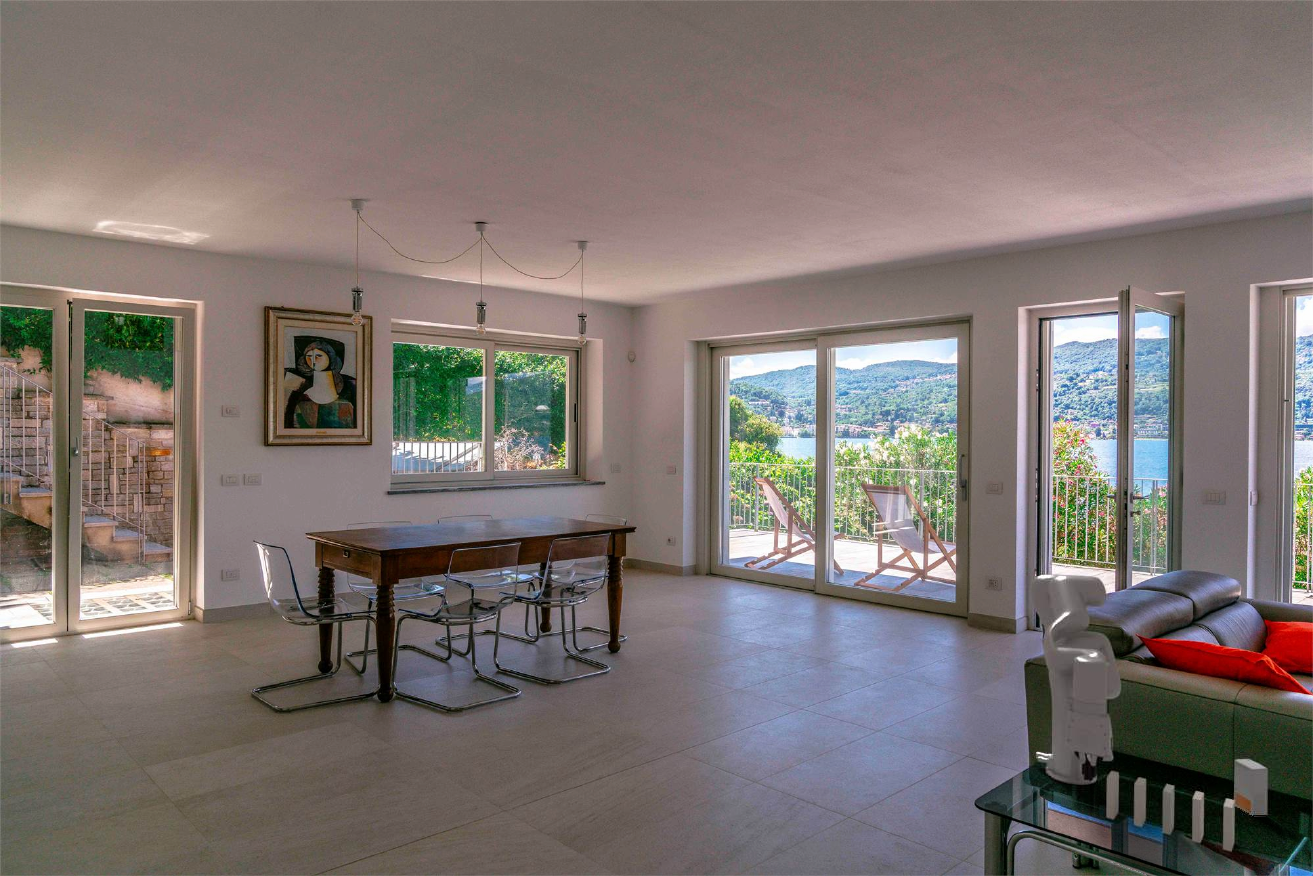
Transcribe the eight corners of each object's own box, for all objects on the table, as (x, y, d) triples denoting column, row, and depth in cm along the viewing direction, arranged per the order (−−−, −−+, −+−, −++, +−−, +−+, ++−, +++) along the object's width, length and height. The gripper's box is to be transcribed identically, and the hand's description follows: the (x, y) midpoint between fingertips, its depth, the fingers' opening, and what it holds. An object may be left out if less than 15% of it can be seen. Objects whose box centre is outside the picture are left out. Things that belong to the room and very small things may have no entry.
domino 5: (1223, 849, 192) (1223, 806, 192) (1225, 840, 196) (1226, 798, 196) (1231, 851, 191) (1232, 808, 191) (1234, 843, 195) (1234, 800, 195)
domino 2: (1133, 825, 204) (1134, 784, 204) (1138, 817, 208) (1138, 777, 207) (1141, 827, 203) (1141, 785, 203) (1145, 819, 207) (1146, 779, 206)
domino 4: (1192, 840, 196) (1192, 798, 196) (1195, 832, 200) (1196, 791, 200) (1200, 843, 195) (1200, 800, 195) (1203, 834, 199) (1203, 792, 199)
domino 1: (1106, 817, 208) (1106, 777, 208) (1111, 810, 212) (1111, 770, 211) (1113, 819, 207) (1114, 779, 206) (1118, 812, 211) (1118, 772, 210)
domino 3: (1173, 826, 203) (1174, 785, 203) (1170, 834, 199) (1170, 793, 199) (1166, 824, 204) (1166, 783, 204) (1162, 832, 200) (1162, 791, 200)
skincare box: (1233, 805, 214) (1233, 759, 213) (1248, 805, 214) (1249, 758, 214) (1252, 817, 208) (1252, 769, 207) (1268, 816, 208) (1268, 768, 208)
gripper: (1053, 704, 214) (1053, 775, 214) (1119, 717, 204) (1118, 792, 205) (1061, 696, 220) (1061, 766, 220) (1126, 709, 210) (1125, 782, 210)
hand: (1089, 778), depth 212 cm, fingers closed
